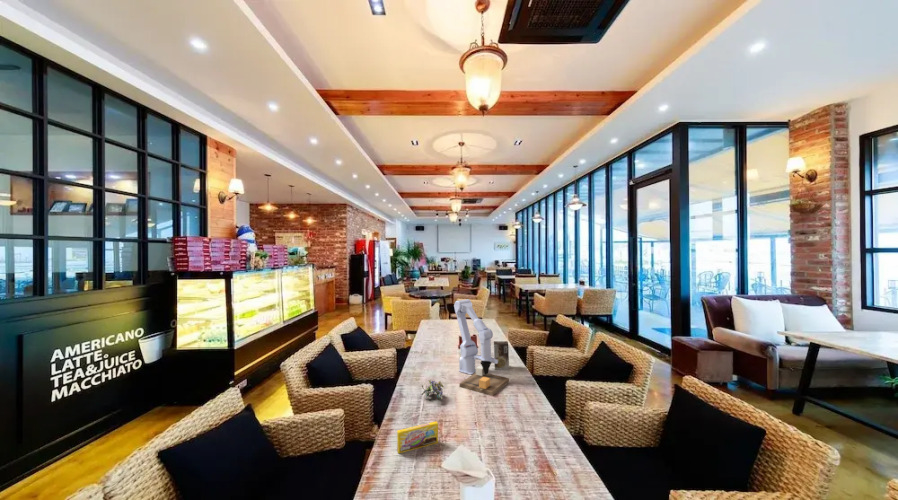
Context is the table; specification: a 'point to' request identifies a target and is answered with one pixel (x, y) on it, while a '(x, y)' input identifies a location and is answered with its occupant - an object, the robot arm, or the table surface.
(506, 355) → the coffee box
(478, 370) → the white fader
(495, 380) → the console
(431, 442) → the candy box
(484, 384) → the orange fader
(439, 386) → the passion flower
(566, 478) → the table surface
